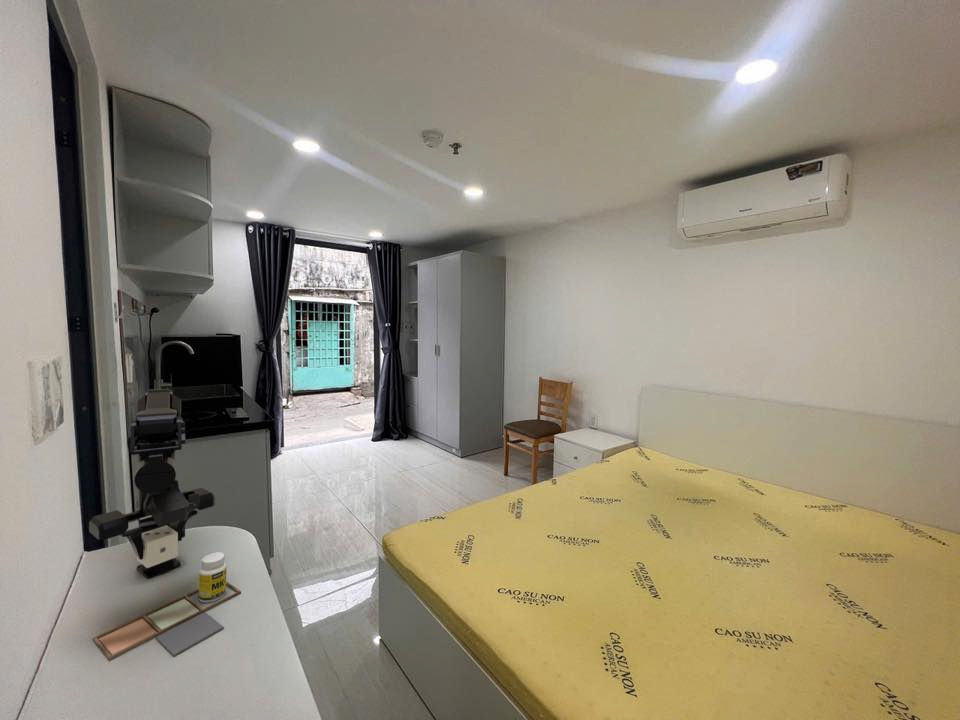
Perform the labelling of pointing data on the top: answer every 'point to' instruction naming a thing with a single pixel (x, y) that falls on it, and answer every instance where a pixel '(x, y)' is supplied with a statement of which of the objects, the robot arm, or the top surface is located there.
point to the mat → (189, 634)
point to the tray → (152, 624)
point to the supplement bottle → (212, 577)
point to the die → (159, 546)
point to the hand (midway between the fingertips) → (157, 552)
